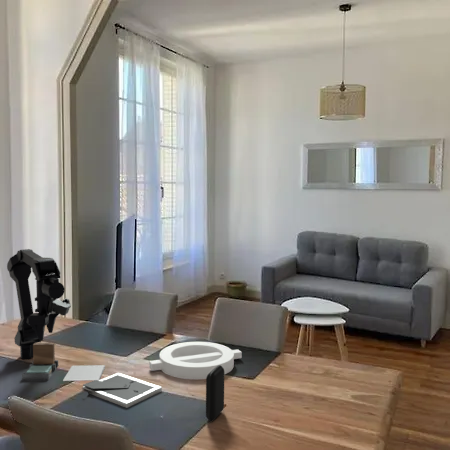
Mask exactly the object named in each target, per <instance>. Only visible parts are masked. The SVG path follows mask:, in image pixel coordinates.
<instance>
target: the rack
mask: <svg viewBox="0 0 450 450" xmlns="http://www.w3.org/2000/svg"><path fill="white" fill-rule="evenodd" d="M31 366H52V371H51V373H50V374H49V373H23V372H22V373H21V380H20V381H21V382H36V381H37V382H39V381H44V382H45V381H49V380H50V378H51V377H52V376H53V374H54V373H55V371H56V370H57V369H58V366H59V360H55V364H33V363H30V364H29V368H30V367H31Z"/></svg>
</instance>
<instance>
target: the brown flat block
mask: <svg viewBox="0 0 450 450" xmlns="http://www.w3.org/2000/svg"><path fill="white" fill-rule="evenodd" d="M55 351H56V350H55V342H37V343H34V344H33V359H32V364H55V359H56V356H55Z"/></svg>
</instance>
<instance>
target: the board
mask: <svg viewBox="0 0 450 450" xmlns="http://www.w3.org/2000/svg"><path fill="white" fill-rule="evenodd" d="M105 368H106V365H105V364H104V365H103V364H102V365H101V364H100V365H99V364H98V365H95V364H93V365H88V364H87V365H71V366H70V368H69V369H68V372H67V373H66V375H65V376H64V378H63V380H62V381H63V382H65V381H66V382H68V381H69V382H72V381H73V382H77V381H78V382H79V381H80V382H81V381H99V380H101V379H102V376H103V374H104V371H105Z"/></svg>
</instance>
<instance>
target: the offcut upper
mask: <svg viewBox="0 0 450 450" xmlns="http://www.w3.org/2000/svg"><path fill="white" fill-rule="evenodd" d="M51 369H52V366H31V367H30V366H29V368H28V370H27V371H26V373H49V371H50V370H51Z"/></svg>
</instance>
